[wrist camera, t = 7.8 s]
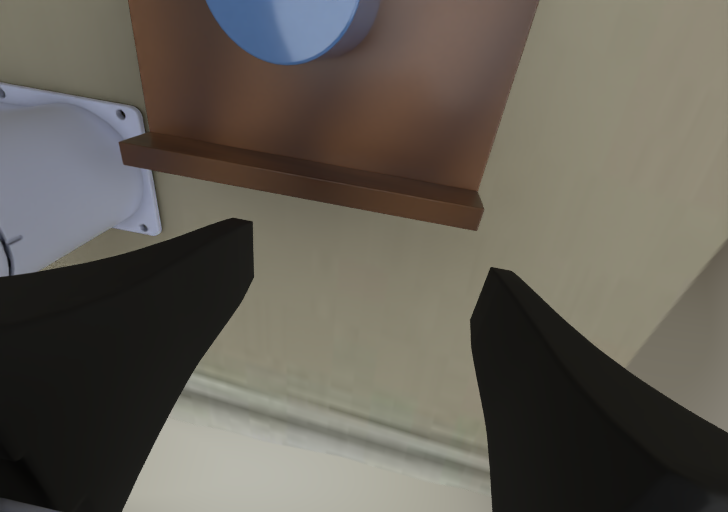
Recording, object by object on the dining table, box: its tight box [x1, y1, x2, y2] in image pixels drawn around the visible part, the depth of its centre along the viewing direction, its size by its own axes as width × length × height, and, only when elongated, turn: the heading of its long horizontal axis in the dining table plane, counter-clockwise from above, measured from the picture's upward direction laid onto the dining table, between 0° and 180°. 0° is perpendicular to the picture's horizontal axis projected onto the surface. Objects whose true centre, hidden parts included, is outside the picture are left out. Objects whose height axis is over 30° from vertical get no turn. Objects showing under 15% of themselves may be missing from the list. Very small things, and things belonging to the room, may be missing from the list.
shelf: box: [119, 0, 539, 231], centre depth 15 cm, size 15×10×6 cm, turn 82°
